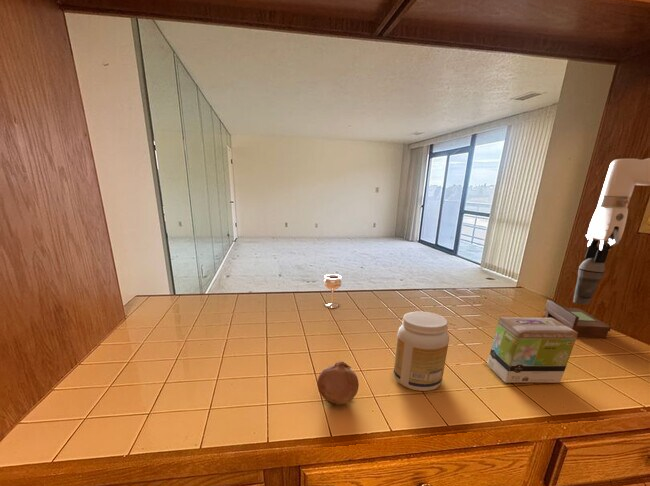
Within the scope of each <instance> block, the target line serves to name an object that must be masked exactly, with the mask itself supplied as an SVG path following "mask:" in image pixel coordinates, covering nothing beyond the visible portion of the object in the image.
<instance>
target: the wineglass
mask: <svg viewBox="0 0 650 486" xmlns="http://www.w3.org/2000/svg"><path fill="white" fill-rule="evenodd" d="M324 278H325V279H324V280H323V282H324V286H325V287H326V289H328V290H330V291H331V303H327V304H325V306H326V307H327V308H329V309H336V308H338V307H339V304H336V303H334V293H335V290H338V289H339V288H340V287H341V285H342V276H341V275H339V274H335V273H334V274H331V273H330V274H326V275H324Z"/></svg>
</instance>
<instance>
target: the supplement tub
mask: <svg viewBox="0 0 650 486" xmlns="http://www.w3.org/2000/svg"><path fill="white" fill-rule="evenodd" d="M401 323H402V324H401V325H400V326H399V328H398V330H397V335H396V336H397V337H396V344H395V345H396V347H395V352H394V353H395V355H394V364H393V371H392V372H393V377H394V379H395V380H396V382H397V383H398V384H400V385H401V386H403V387H405V388H407V389H409V390H413V391H417V392H428V391H429V392H430V391H432V390H435V389H438V388H439V386H440V385H441V384H442V382H443V376H444V373H445V366H446V362H447V361H446V360H447V354H448V348H449V343H450V335H449V332H448V331H447V330H448V319H447V318H445V317H444V316H442V315H440V314H437V313H434V312H430V311H410V312H407V313H405V314H404V315H403V317H402V320H401Z"/></svg>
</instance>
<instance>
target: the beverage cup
mask: <svg viewBox="0 0 650 486" xmlns="http://www.w3.org/2000/svg"><path fill="white" fill-rule="evenodd" d="M594 259H595V258H588V259H585V260H583V261H582V262H581V263H580V265H579V266H578V268H577V269H578V270H577V278H576V284H575V288H574V294H573V300H572V302H573V303H575V304H577V305H584V306H586V305H589V304H590V302H591V300H592V298H593V296H594V294H595V292H596V289H597V287H598V284H599V282H600V281H601V279H602V277H603V276H604V273H605V272H606V264H605V263H595V262H594Z"/></svg>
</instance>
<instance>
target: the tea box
mask: <svg viewBox="0 0 650 486" xmlns="http://www.w3.org/2000/svg"><path fill="white" fill-rule="evenodd" d="M577 335H578V332H576V331H574V330H573V329H571V328H569V327H568V326H566V325H565V324H563V323H562V322H561V321H559V320H558V319H554V318H546V317H523V316H522V317H518V316H517V317H516V316H515V317H514V316H512V317H510V316H509V317H508V316H505V317H504V316H500V317H499V318H498V322H497V326H496V328H495V332H494V336H493V340H492V344H491V349H490V352H489V356H488V359H487V363H486V364H487V366H488V367H489V368H490V369H491V370H492V371H493V372H494V373H495V374H496V376H498V377H499V378H500V380H502V381H503V382H504V384H508V383H509V384H510V383H548V384H549V383H551V384H552V383H553V384H559V383H561V381H562V378H563V376H564V373H565V370H566V368H567V365H568V363H569V359H570V357H571V354H572V353H573V352H572V351H573V348H574V345H575V344H576V340H577V338H578V337H577Z"/></svg>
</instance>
